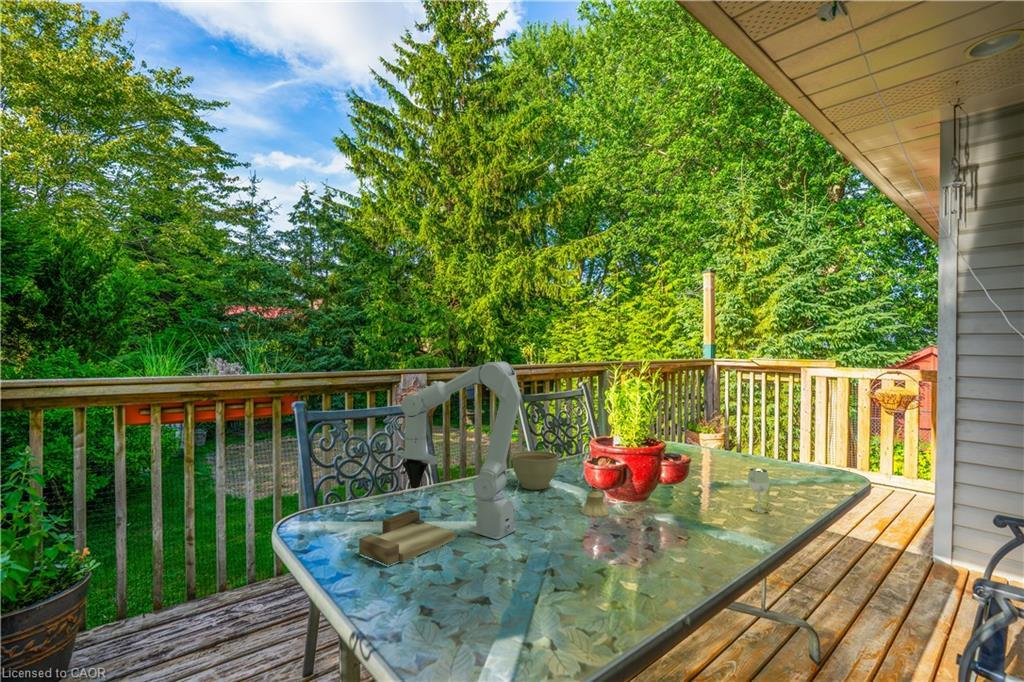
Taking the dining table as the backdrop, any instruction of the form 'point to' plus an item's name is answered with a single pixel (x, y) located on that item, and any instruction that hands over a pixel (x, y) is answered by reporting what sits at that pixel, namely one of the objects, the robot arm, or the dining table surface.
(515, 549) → the dining table surface
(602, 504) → the hand bell
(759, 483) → the wineglass
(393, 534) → the stool top
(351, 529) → the dining table surface
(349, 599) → the dining table surface
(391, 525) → the folding leg
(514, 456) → the planter bowl
